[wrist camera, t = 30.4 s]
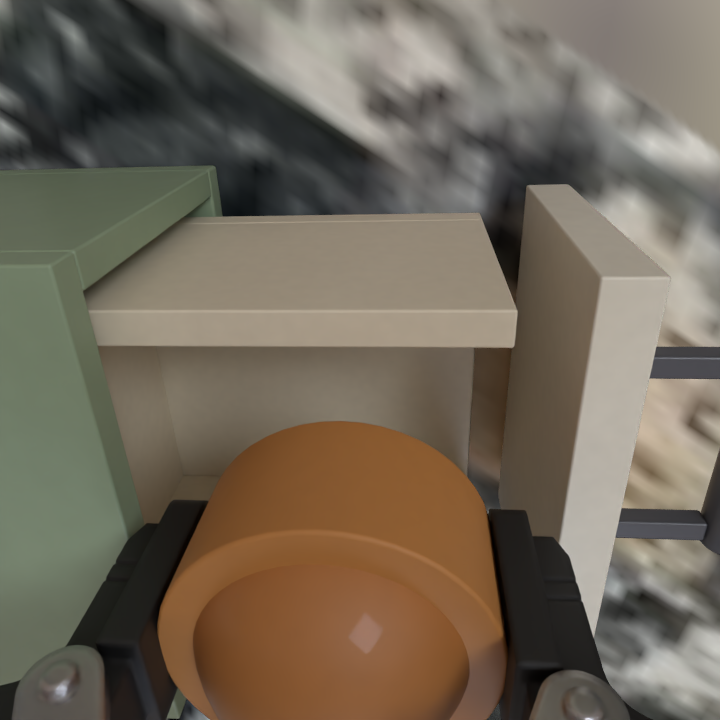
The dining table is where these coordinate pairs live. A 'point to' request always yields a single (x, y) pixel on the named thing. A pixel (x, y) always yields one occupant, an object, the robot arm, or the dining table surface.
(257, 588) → the brown cup
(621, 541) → the dining table surface
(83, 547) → the cabinet
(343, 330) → the drawer
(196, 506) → the robot arm
